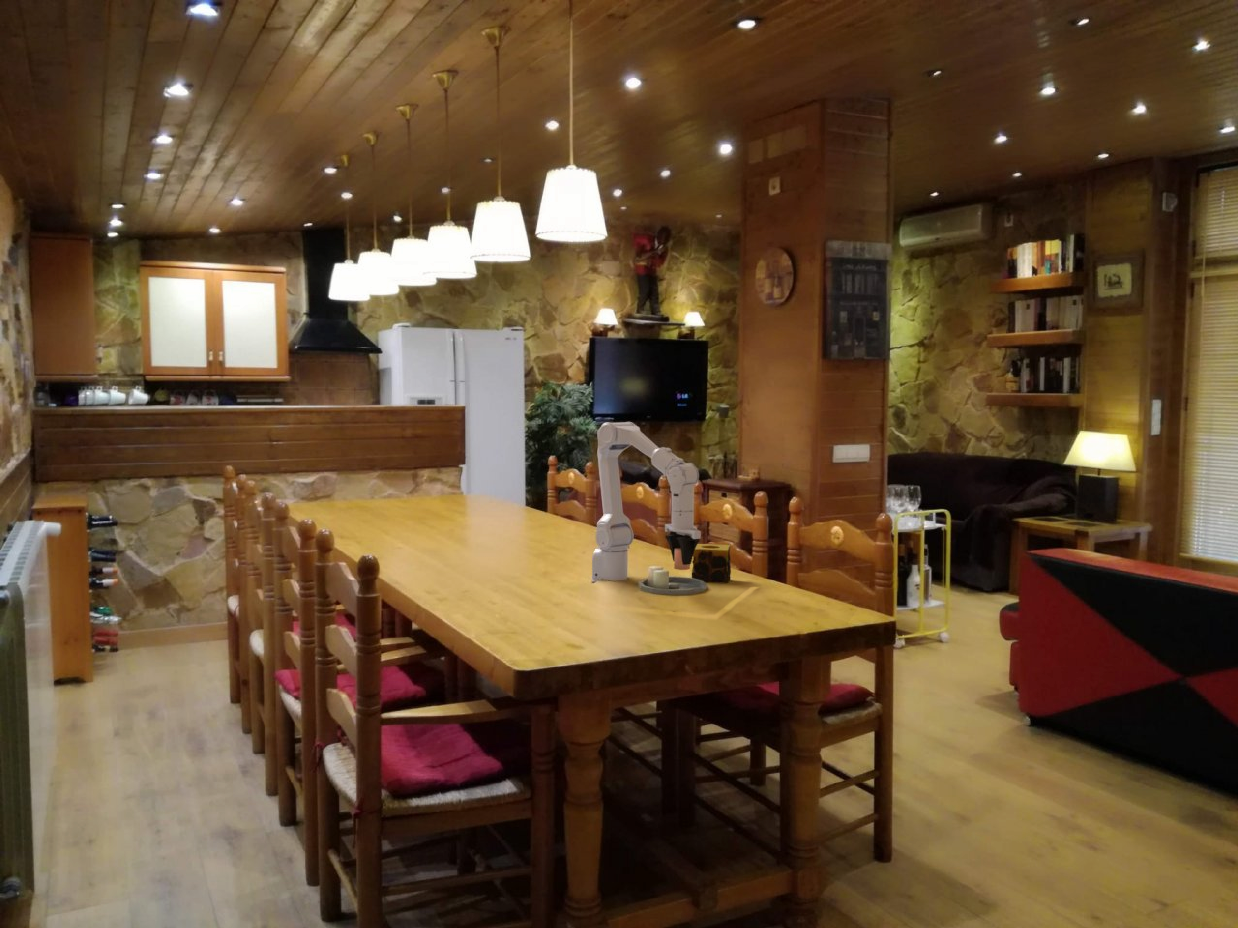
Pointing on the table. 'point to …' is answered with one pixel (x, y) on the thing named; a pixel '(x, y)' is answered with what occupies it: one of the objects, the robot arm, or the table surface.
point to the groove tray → (676, 586)
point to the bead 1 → (652, 574)
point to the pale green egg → (661, 579)
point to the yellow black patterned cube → (712, 563)
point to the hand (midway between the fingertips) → (682, 562)
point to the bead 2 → (679, 561)
